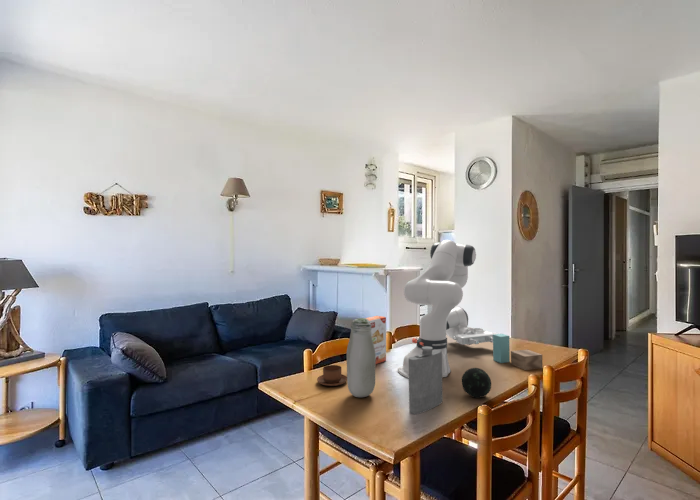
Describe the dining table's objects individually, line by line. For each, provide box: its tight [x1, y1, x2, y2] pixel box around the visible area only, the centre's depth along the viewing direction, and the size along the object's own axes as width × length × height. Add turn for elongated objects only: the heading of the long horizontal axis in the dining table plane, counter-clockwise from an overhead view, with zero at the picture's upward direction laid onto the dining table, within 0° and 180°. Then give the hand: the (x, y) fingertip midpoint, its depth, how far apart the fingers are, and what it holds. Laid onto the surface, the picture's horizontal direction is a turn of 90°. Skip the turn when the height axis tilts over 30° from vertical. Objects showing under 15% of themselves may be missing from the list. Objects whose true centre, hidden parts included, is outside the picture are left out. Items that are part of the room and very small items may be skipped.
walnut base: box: [510, 349, 543, 371], centre depth 172 cm, size 9×9×6 cm
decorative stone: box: [461, 367, 492, 399], centre depth 138 cm, size 10×10×10 cm
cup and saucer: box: [316, 364, 347, 387], centre depth 154 cm, size 12×12×6 cm
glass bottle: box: [346, 317, 376, 398], centre depth 140 cm, size 10×10×28 cm
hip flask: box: [408, 346, 444, 415], centre depth 130 cm, size 16×4×20 cm, turn 132°
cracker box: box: [365, 315, 387, 365], centre depth 179 cm, size 14×6×21 cm, turn 136°
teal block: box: [492, 333, 511, 364], centre depth 179 cm, size 5×5×12 cm
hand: (485, 341), depth 189 cm, fingers open, 8 cm apart
